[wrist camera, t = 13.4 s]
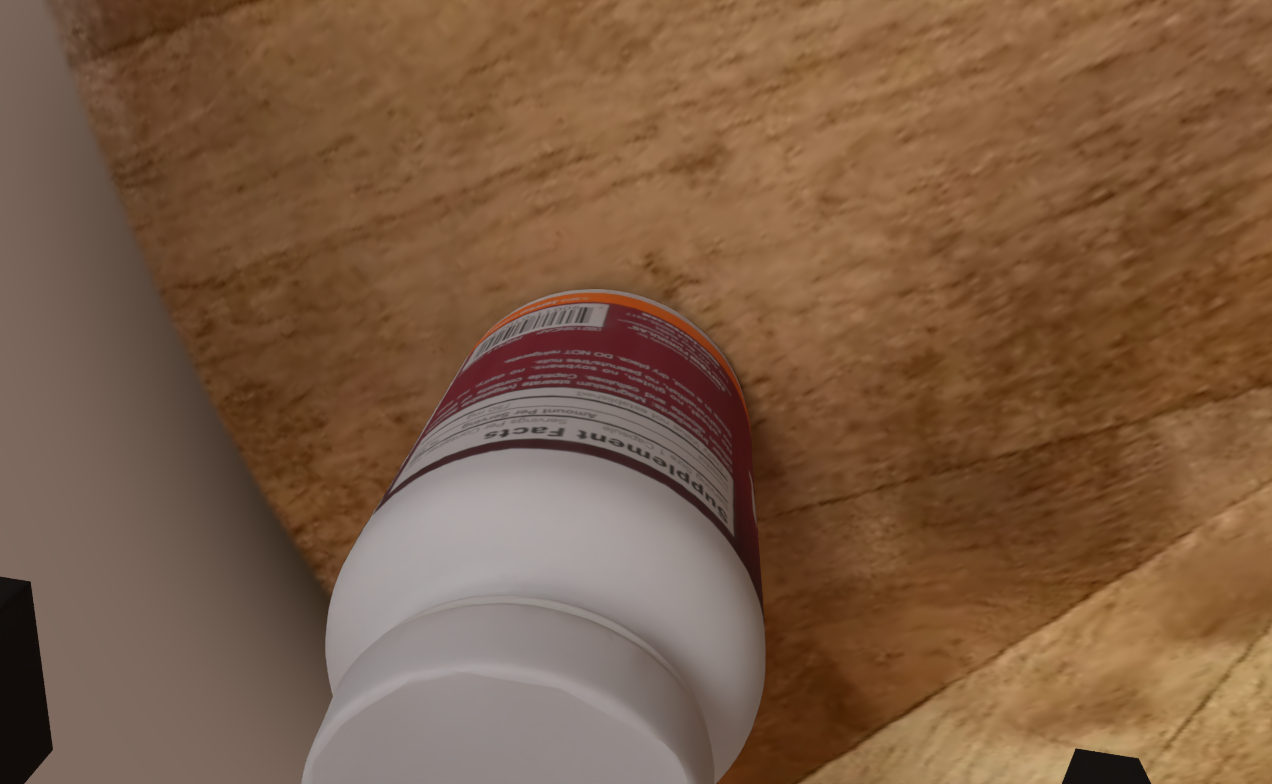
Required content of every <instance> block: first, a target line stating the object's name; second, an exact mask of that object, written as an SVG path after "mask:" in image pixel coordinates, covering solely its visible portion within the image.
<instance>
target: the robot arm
mask: <svg viewBox="0 0 1272 784" xmlns="http://www.w3.org/2000/svg"><path fill="white" fill-rule="evenodd" d="M52 750H53V746H52V739H51V731H50V725H49V716H48V709H47V701H46V694H45V686H44V679H43V671H42V664H41V656H40V649H39V641H38V634H37V627H36V619H35V611H34V603H33V596H32V589H31V582H30V581H24V580H17V579H11V578H5V577H0V784H24V783H25V782H26V781H27V780H28V779H29V777H30V776H31V775H32V774H33V773H34V772H35V770H36V769H37V768H38V767H39V765H40V764H41V763H42V762H43V761H44V760H45V758H46V757H47V756H48V755H49V754H50V753H51V751H52ZM1062 784H1151V782H1150V780H1149V778H1148V776H1147V774H1146V772H1145V770H1144V768H1143V766H1142V764H1141V762H1140V760H1139V758H1133V757H1126V756H1120V755H1114V754H1108V753H1101V752H1095V751H1089V750H1082V749H1075V752H1074V754H1073V757H1072V759H1071V762H1070V764H1069V767H1068V770H1067V772H1066V775H1065V777H1064V780H1063V782H1062Z"/></svg>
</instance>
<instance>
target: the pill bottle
mask: <svg viewBox="0 0 1272 784" xmlns="http://www.w3.org/2000/svg"><path fill="white" fill-rule="evenodd" d="M764 621H765V619H764V611H763V595H762V583H761V569H760V555H759V543H758V529H757V518H756V506H755V491H754V476H753V462H752V448H751V431H750V423H749V416H748V411H747V408H746V403H745V400H744V396H743V393H742V390H741V387H740V384H739V382H738V380H737V377H736V375H735V373H734V371H733V369H732V367H731V366H730V364H729V362H728V361H727V359H726V357H725V356H724V355H723V353H722V352H721V351H720V349H719V348H718V347H717V346H716V345H715V343H714V342H713V341H712V340H711V339H710V338H709V337H708V336H707V335H706V334H705V333H704V332H703V331H702V330H701V329H699V328H698V327H697V326H696V325H695V324H693V323H692V322H691V321H690V320H688V319H687V318H685V317H684V316H682V315H681V314H679V313H678V312H676V311H674V310H673V309H671V308H669V307H667V306H665V305H663V304H661V303H658V302H656V301H653V300H651V299H648V298H645V297H642V296H639V295H635V294H632V293H627V292H621V291H615V290H604V289H585V290H573V291H566V292H561V293H556V294H552V295H549V296H546V297H542V298H540V299H537V300H535V301H532V302H530V303H528V304H526V305H524V306H522V307H520V308H518V309H516V310H515V311H513V312H511V313H510V314H508V315H507V316H506V317H504V318H503V319H502V320H500V321H499V322H498V323H497V324H495V325H494V326H493V327H492V328H491V329H490V330H489V331H488V332H487V333H486V334H485V335H484V336H483V337H482V339H481V340H480V341H479V342H478V343H477V344H476V345H475V347H474V348H473V349H472V351H471V352H470V353H469V355H468V356H467V358H466V360H465V361H464V363H463V365H462V366H461V368H460V370H459V371H458V373H457V374H456V376H455V377H454V379H453V381H452V383H451V384H450V386H449V387H448V389H447V391H446V393H445V395H444V396H443V398H442V399H441V401H440V402H439V404H438V406H437V407H436V409H435V411H434V412H433V414H432V416H431V418H430V419H429V421H428V422H427V424H426V426H425V427H424V429H423V431H422V433H421V434H420V436H419V438H418V440H417V441H416V443H415V445H414V446H413V448H412V449H411V451H410V453H409V455H408V456H407V458H406V460H405V461H404V462H403V464H402V465H401V467H400V469H399V471H398V473H397V475H396V476H395V478H394V479H393V481H392V483H391V485H390V486H389V488H388V490H387V491H386V493H385V495H384V496H383V498H382V500H381V501H380V503H379V505H378V506H377V508H376V509H375V511H374V512H373V514H372V516H371V518H370V520H369V521H368V522H367V524H366V525H365V526H364V528H363V529H362V531H361V533H360V535H359V537H358V539H357V541H356V542H355V544H354V546H353V548H352V550H351V552H350V553H349V555H348V557H347V559H346V561H345V562H344V564H343V566H342V569H341V571H340V574H339V576H338V579H337V581H336V584H335V586H334V590H333V594H332V598H331V602H330V606H329V611H328V619H327V627H326V639H325V641H326V642H325V646H326V647H325V648H326V649H325V650H326V663H327V670H328V676H329V682H330V686H331V691H332V694H333V698H332V701H331V703H330V706H329V708H328V710H327V713H326V715H325V718H324V720H323V722H322V725H321V727H320V729H319V731H318V734H317V736H316V738H315V740H314V743H313V745H312V747H311V750H310V752H309V755H308V757H307V760H306V764H305V768H304V772H303V776H302V782H301V784H716V783H717V782H718V781H719V780H720V779H721V778H722V776H723V775H724V774H725V773H726V772H727V771H728V769H729V768H730V767H731V765H732V764H733V762H734V761H735V760H736V758H737V757H738V755H739V754H740V752H741V750H742V748H743V746H744V744H745V742H746V740H747V738H748V736H749V734H750V732H751V730H752V727H753V724H754V721H755V718H756V715H757V711H758V708H759V705H760V701H761V697H762V692H763V687H764V678H765V629H764Z"/></svg>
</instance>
